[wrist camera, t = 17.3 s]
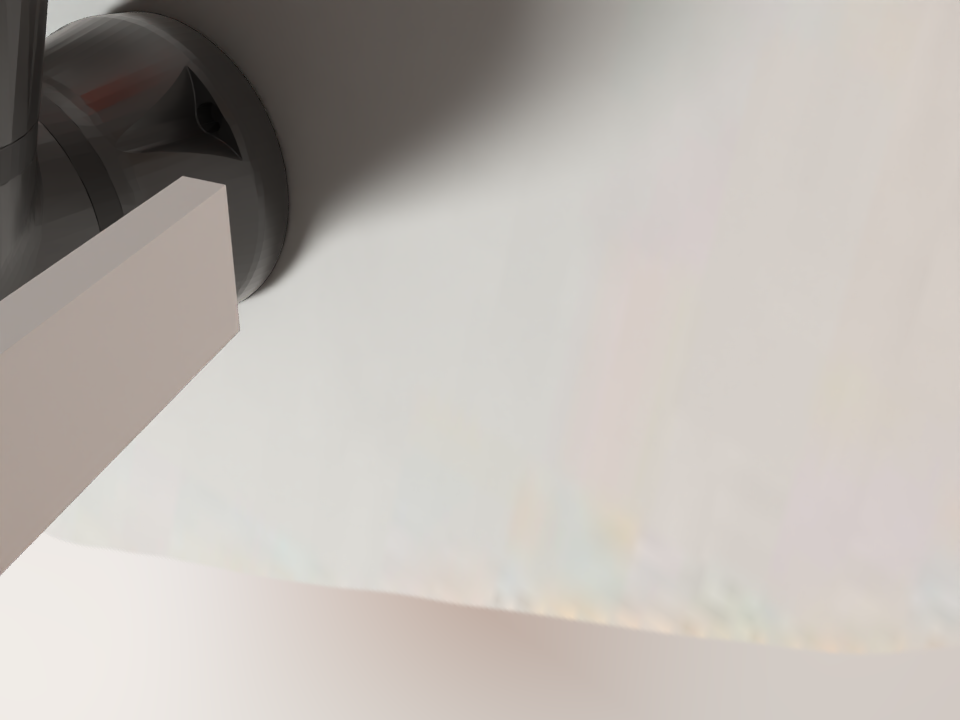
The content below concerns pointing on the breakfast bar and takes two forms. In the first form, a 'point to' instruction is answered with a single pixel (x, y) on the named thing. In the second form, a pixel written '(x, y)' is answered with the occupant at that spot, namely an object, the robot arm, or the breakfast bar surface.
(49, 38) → the robot arm
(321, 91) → the breakfast bar surface
